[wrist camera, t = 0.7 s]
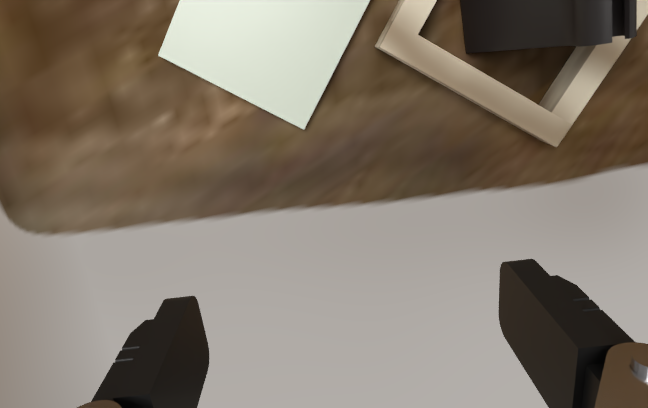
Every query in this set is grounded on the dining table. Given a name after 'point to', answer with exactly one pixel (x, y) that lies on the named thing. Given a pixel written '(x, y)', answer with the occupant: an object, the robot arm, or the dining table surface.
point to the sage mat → (264, 48)
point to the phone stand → (545, 23)
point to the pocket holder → (492, 95)
